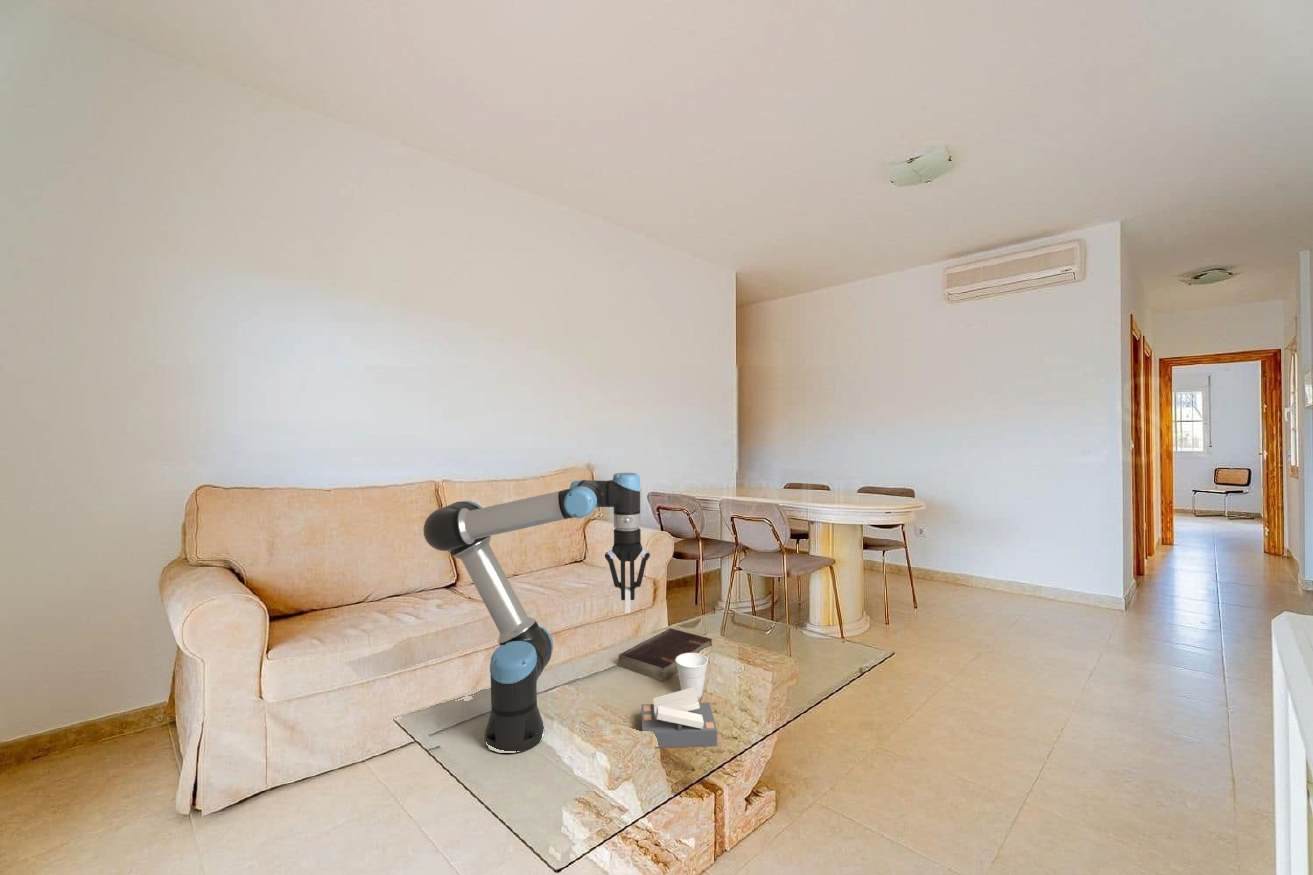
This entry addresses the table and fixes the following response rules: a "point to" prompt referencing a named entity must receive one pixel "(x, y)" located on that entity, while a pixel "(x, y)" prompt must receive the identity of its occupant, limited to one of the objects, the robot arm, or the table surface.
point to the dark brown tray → (662, 653)
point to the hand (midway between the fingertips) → (627, 611)
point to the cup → (692, 671)
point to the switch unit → (680, 729)
